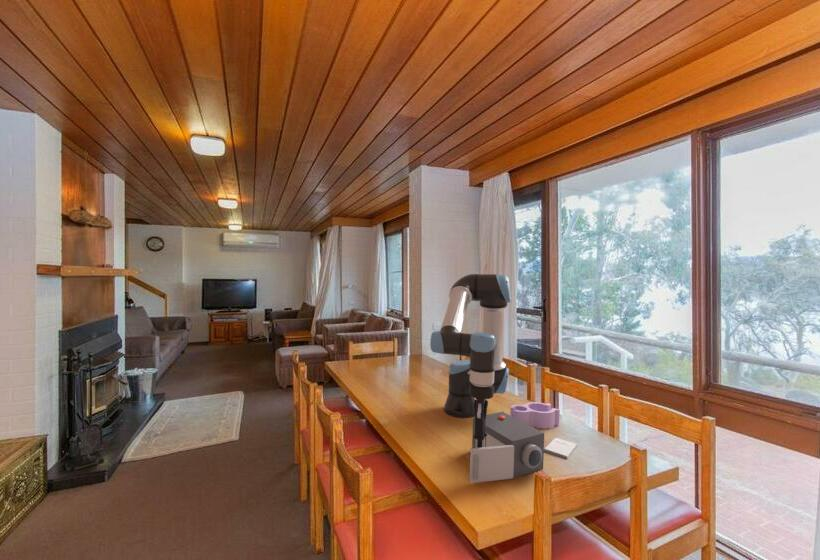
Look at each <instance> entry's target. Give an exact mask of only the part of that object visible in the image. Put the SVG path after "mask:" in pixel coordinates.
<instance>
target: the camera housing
mask: <svg viewBox="0 0 820 560" xmlns="http://www.w3.org/2000/svg"><path fill="white" fill-rule="evenodd" d="M485 429H486V431H485V433H486V434H487V437H486V436H484V437H485V447H492V446H503V445H513V446H514V470H513V478H512V479H511V480H513V479H516V478H519V477H522V476H525V475H529V474H532V473H534V472H538V471H541V470H543V469H544V460H545V459H544V458H545V457H544V456H545V455H544V454H545V452H544V449H545V432H543V431H542V430H540V429H539V428H534V427H532V426H530V425H528V424H526V423H524V422H522V421H520V420H518V419H516V418H514V417H512V416H510V414H509V413H506V412H504V411H500V412H494V413H490V414H486V424H485ZM474 435H475V417H472V437H471V438H472V440H471V441H472V442H471V443H472V444H471V448H475V445H476V439H475V438H473V436H474ZM540 469H541V470H540ZM531 472H532V473H531Z"/></svg>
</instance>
